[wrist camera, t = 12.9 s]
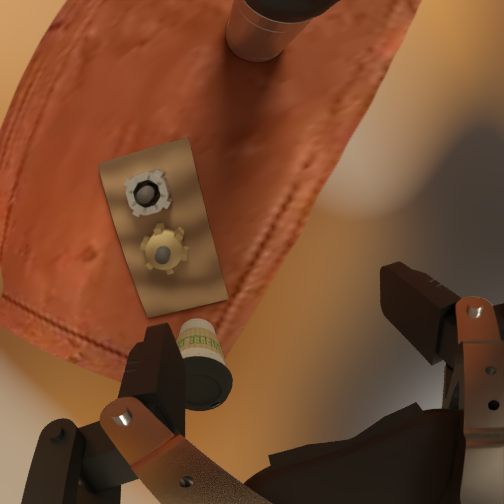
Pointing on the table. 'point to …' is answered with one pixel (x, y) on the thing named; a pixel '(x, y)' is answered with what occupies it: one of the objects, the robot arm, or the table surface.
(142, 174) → the steel gear
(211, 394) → the coffee cup
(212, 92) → the table surface
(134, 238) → the gear board
